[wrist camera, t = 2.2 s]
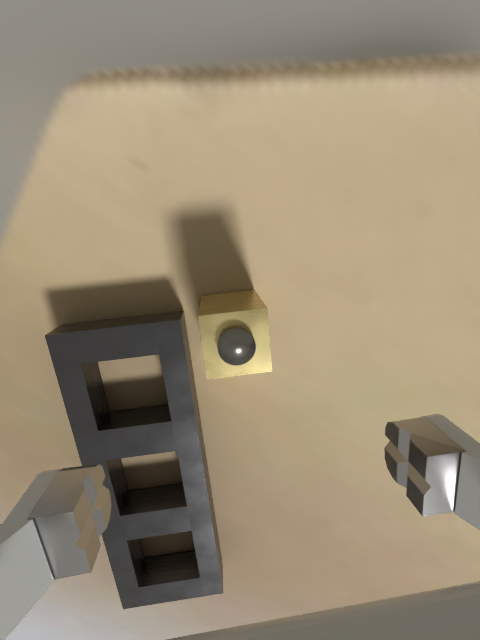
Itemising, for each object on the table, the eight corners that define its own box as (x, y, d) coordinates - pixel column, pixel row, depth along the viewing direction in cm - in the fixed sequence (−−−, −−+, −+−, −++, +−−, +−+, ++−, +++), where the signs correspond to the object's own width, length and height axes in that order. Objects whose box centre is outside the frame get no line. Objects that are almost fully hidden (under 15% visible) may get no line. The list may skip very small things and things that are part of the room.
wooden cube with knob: (254, 289, 24) (268, 310, 17) (258, 339, 25) (273, 374, 19) (201, 295, 23) (197, 318, 17) (208, 345, 25) (206, 383, 18)
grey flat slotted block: (183, 310, 24) (180, 319, 21) (222, 564, 31) (223, 593, 28) (62, 324, 23) (44, 335, 21) (130, 579, 30) (123, 609, 28)
